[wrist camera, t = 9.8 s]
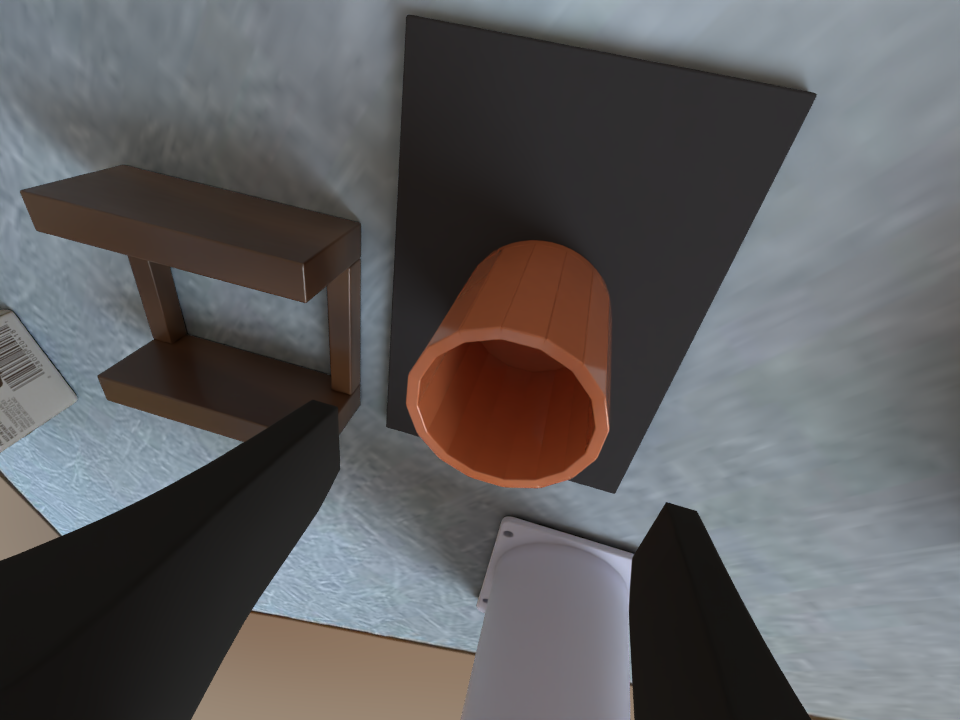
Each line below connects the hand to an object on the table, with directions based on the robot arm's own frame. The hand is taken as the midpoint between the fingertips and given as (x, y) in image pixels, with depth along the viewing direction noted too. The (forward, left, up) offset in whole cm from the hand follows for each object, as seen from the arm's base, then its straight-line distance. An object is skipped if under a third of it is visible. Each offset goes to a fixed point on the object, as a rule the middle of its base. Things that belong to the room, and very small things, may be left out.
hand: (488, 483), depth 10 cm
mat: (0, 0, -9) cm, 9 cm away
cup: (0, 0, -8) cm, 8 cm away
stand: (-3, +12, -9) cm, 15 cm away
